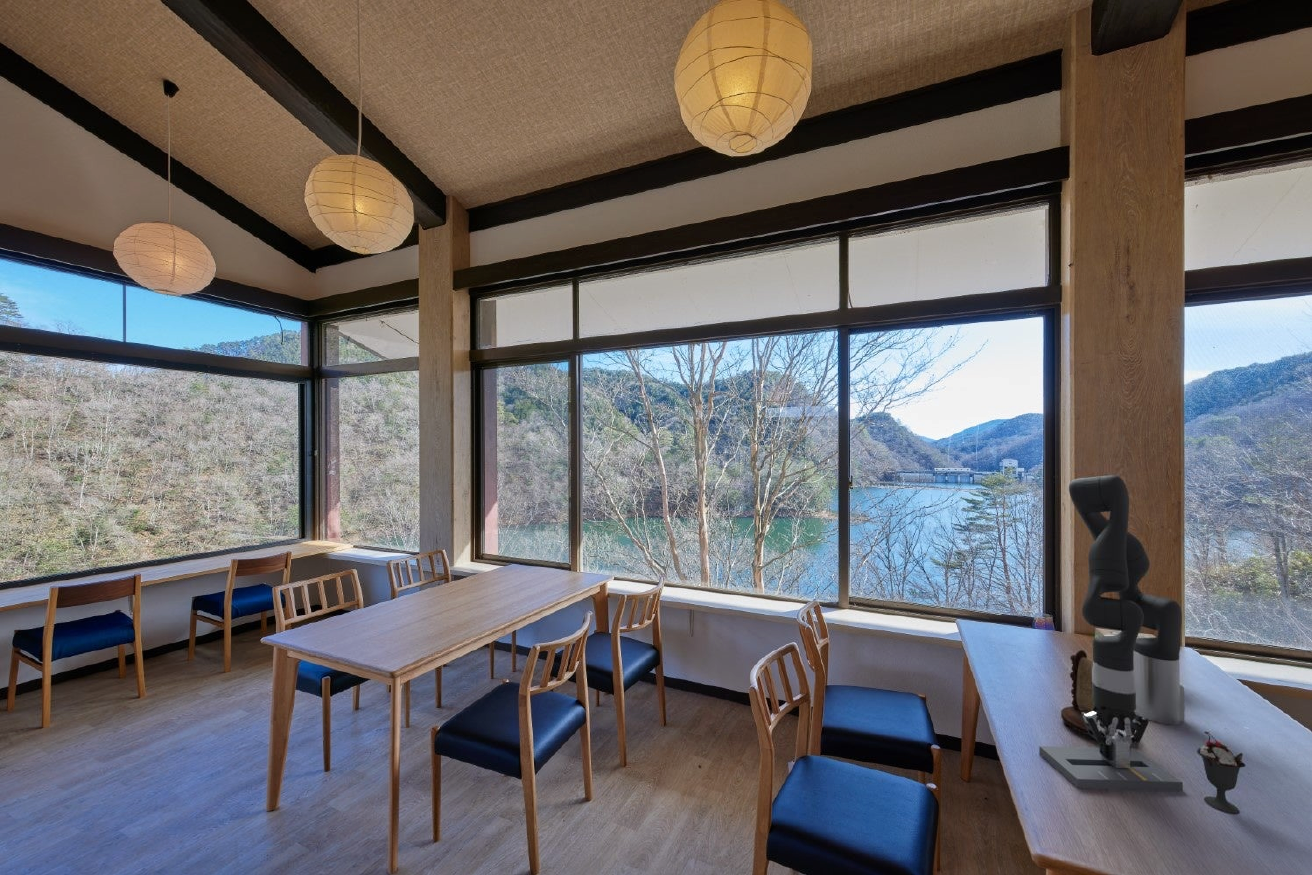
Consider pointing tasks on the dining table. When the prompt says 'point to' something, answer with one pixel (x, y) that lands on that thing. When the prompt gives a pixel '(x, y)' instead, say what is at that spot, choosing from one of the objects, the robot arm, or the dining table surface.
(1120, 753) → the fader tab
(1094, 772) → the slider plate with stripes
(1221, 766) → the sundae
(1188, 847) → the dining table surface
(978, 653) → the dining table surface
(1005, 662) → the dining table surface
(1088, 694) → the scroll
